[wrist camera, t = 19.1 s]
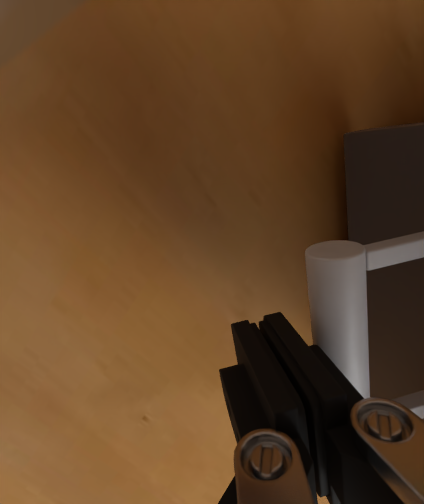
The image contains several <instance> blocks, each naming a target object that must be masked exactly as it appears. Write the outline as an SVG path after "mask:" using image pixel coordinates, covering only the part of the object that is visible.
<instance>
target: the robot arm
mask: <svg viewBox="0 0 424 504" xmlns="http://www.w3.org/2000/svg"><path fill="white" fill-rule="evenodd" d="M231 328H232V334H233V339H234V345H235V351H236V356H237V362H238V365H235V366H231V367H227V368H223V369H219V372H220V378H221V383H222V388H223V392H224V397H225V401H226V405H227V409H228V413H229V417H230V420H231V424H232V427H233V431H234V434H235V438H236V441H237V446H236V448H235V451H234V470H235V476H234V478H233V480H232V481H231V483H230V484H229V486H228V488H227V489H226V491H225V493H224V494H223V496H222V498H221V499H220V501H219V503H218V504H318V502H317V494H318V495H319V497H323V496H326V497H327V499H328V501H329V503H330V504H424V420H423V419H421V418H420V417H419V416H417V415H416V414H415V413H414V412H412V411H411V410H410V409H409V408H407V407H405V406H404V405H402V404H401V403H399V402H396V401H393V400H391V399H387V398H381V397H369V398H366V399H364V398H363V397H362V395H361V394H360V393H359V392H358V391H357V390H356V388H355V387H354V386H353V385H352V384H351V383H350V381H349V380H348V379H347V378H346V377H345V376H344V374H343V373H342V372H341V371H340V370H339V369H338V368H337V366H336V365H335V364H334V363H333V362H332V361H331V359H330V358H329V357H328V356H327V355H326V354H325V352H324V351H323V350H322V349H321V348H320V347H319V346H318V345H311V346H308V345H307V344H306V343H305V342H304V340H303V339H302V338H301V337H300V335H299V334H298V333H297V332H296V330H295V329H294V328H293V327H292V325H291V324H290V323H289V322H288V320H287V319H286V318H285V317H284V315H283V314H282V313H281V312H277V313H273V314H269V315H265V316H264V318H263V321H259V328H258V327H257V325H256V324H255V323H251V324H250V323H249V321H248V320H245V321H241V322H237V323H233V324H231ZM259 329H260V330H259ZM316 492H317V493H316Z"/></svg>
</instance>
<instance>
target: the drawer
mask: <svg viewBox="0 0 424 504" xmlns="http://www.w3.org/2000/svg"><path fill="white" fill-rule="evenodd" d="M344 155H345V177H346V198H347V219H348V240H349V241H346V240H332V241H324V242H320V243H316V244H313V245H311V246H309V247H308V248H307V249H306V250H305V262H306V273H307V284H308V295H309V306H310V317H311V328H312V339H313V345H318V346H319V347H320V348H321V349H322V350H323V351H324V352H325V354H326V355H327V356H328V357H329V358H330V359H331V361H332V362H333V363H334V364H335V365H336V366H337V368H338V369H339V370H340V371H341V372H342V373H343V374H344V376H345V377H346V378H347V379H348V380H349V381H350V383H351V384H352V385H353V386H354V387H355V388H356V390H357V391H358V392H359V393H360V394H361V395H362V397H363V398H364V399H366V398H369V397H381V398H387V399H391V400H393V401H396V402H399V403H401V404H402V405H404V406H405V407H407V408H409V409H410V410H411V411H412V412H414V413H415V414H416V415H417V416H419V417H420V418H421V419H423V420H424V122H421V123H413V124H404V125H396V126H387V127H379V128H371V129H365V130H359V131H354V132H349V133H345V134H344Z"/></svg>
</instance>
